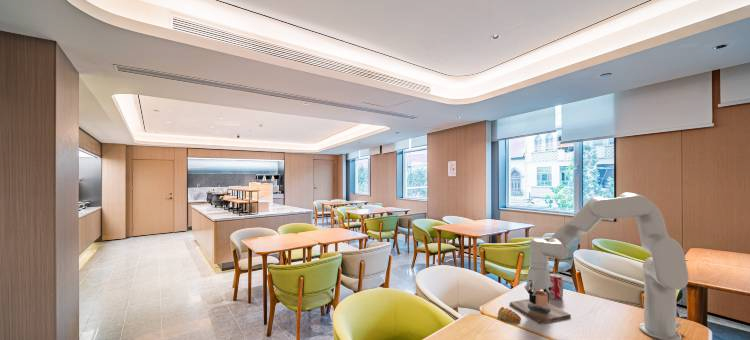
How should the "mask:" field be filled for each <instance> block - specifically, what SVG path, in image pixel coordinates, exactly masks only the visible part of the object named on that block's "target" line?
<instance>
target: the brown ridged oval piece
mask: <svg viewBox="0 0 750 340" xmlns="http://www.w3.org/2000/svg"><path fill="white" fill-rule="evenodd" d="M497 312H498V313H497V316H498V317H500V319H503V320H505V321H508V322H511V323H516V324H518V323H520V322H521V321H522V317H521V316H520V315H519V314H518V313H516V312H515V311H513V310H512V309H509V308H508V307H506V308H505V307H504V306H502V307H500V308H499V310H498V311H497Z"/></svg>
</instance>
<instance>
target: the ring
mask: <svg viewBox="0 0 750 340" xmlns="http://www.w3.org/2000/svg"><path fill="white" fill-rule="evenodd" d="M532 292H533V289H532ZM535 296H536V304H534V305H537V306H541V307H545V306H547V305H548V303H549V302H548V294H547V293H546V292H544V291H543V290H536V293H535ZM532 304H533V303H532Z"/></svg>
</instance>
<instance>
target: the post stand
mask: <svg viewBox="0 0 750 340" xmlns="http://www.w3.org/2000/svg"><path fill="white" fill-rule="evenodd" d="M509 306H510V307H512V308H514V309H516V310H517V311H519V312H520V313H522V315H525V316H526V317H528V318H529V319H531V320H532V321H534V322H535V323H537V324H538V325H541V324H547V323H552V322H556V321H561V320H567V319H570V318H571V316H572V315H571V314H570V313H569V312H567V311H565V310H564V309H561V308H559V307H557V306H556V305H554V304H552V303H550V302H548V305H547V306H545V307H541V306H537V305H534V304H532V303H531V302H530V301H529V298H527V299H521V300H520V299H519V300H515V301H510V302H509Z"/></svg>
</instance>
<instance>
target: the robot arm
mask: <svg viewBox="0 0 750 340" xmlns="http://www.w3.org/2000/svg"><path fill="white" fill-rule="evenodd" d="M633 217H634V219H635V221H636V224H637V227H638V235H639V238H640V245H641V247H642V249H643V251H645V253H648V254H650V257H648V258H646V259H645V260H644V261H643V264H642V274H643V285H644V286H643V287H644V289H643V290H644V293H643V298H644V299H643V300H644V301H643V322H640V323H639V324H638V327H639V330H640V331H641V332H643V334H646V335H648V336H650V337H652V338H655V339H657V340H682V335H681V333H679V332H678V331H677V328H678V329H679V328H681V327H682V324H681V323H680V322H679V321H677V297H678V296H677V295H678V294H677V291H678V290H679V291H680V290H683V288H685V287H686V286H687V285H688V283H689V271H688V266H687V262H686V257H685V253H684V250H683V249H684V248H683V247H682V246H681V244H680V243H679V242H678V241H677V240H676V239H674V238H673V237H670V236H669V233H668V231H667V226H666V222H665V218H664V215H663V214H662V211H661V210H660V209H659V208H658V207H657V206H656V205H655V204H654V203H653V202H652V201H651V200H650V199H649V198H647V196H645V195H641V194H638V193H634V192H622V193H620V194H619V195H618V197H613V198H611V197H610V198H604V197H601V196H594V197H591V198H590V199H589V200H587V202H585V204H584V205H583V206H582V207H581V208H580V209H579V210H578V212H576V213H575V214H574V216H572V218H571V219H569V220H568V221H567V222H566V223H564V224H563V225H561V227H559V228H558V229H557V230H556V231H555V232H554V234H552V236H550V238H549V239H548V241H547V240H546V239H543V238H542V239H541V238H532V239H531V240H530V241H529V242H530V244H529V245H530V246H529V254H530V255H529V258H530V259H529V265H530V266H529V267H528V270H527V274H526V275H527V276H526V285H524V289H525V291H526V292H527V294H528V295H529V298H528V299H529V301H530V302H531V303H533V304H536V296H535V293H536V290H541V291H544V292H546V293H547V294H548V293H550V290H551V287H552V286H553V283H552V282H551V281H550V273H551V272H550V269H549V264H550V263H549V258H553V259H558V260H562V259H566V258H567V257H568V256H569V249H568V245H569V244H570V243H571V242H572V241H573V240H575V239H576V238H578V237H580V236H583V235H587V234H588V233H590V232H591V231H592V230H593V229H594V228H595V227H596V225H598V224H599V222H601V221H602V220H610V219H611V220H612V219H615V220H616V219H624V218H633ZM532 290H533V292H532ZM549 300H550V297H549V294H548V303H550V301H549Z"/></svg>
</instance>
